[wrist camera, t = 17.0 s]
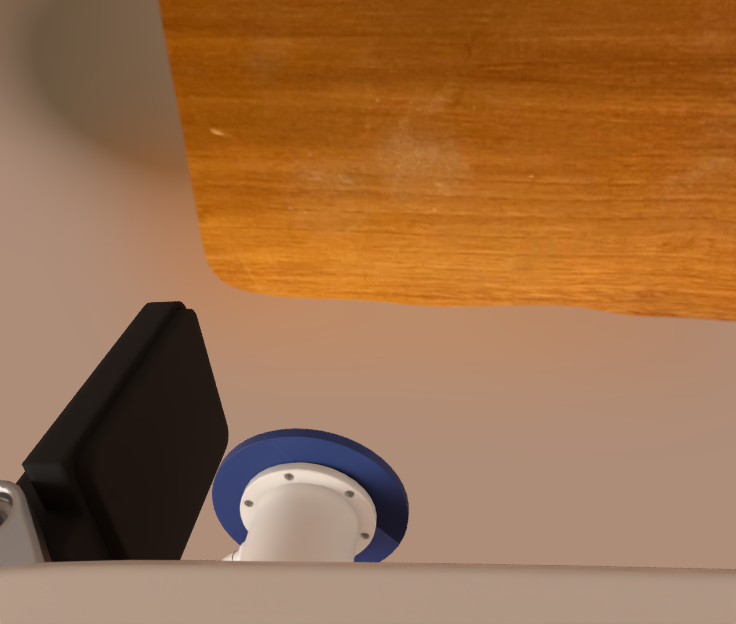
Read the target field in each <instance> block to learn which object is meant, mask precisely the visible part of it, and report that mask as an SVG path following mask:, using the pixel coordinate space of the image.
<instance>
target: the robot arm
mask: <svg viewBox="0 0 736 624" xmlns="http://www.w3.org/2000/svg"><path fill="white" fill-rule="evenodd" d="M227 443H228V426H227V422H226V419H225V415H224V412H223V408H222V405H221V401H220V397H219V394H218V390H217V387H216V383H215V380H214V376H213V372H212V369H211V365H210V362H209V358H208V354H207V351H206V347H205V344H204V340H203V337H202V333H201V329H200V326H199V322H198V319H197V316H196V313H195V312H194V310H192V309H186V307H185V305H184V304H183V303H182V302H180V301H177V302H176V301H174V302H151V303H147V304H146V305H145V306H144V307H143V308H142V310H141V311H140V312H139V313H138V315H137V316H136V317H135V319H134V320H133V321H132V322H131V324H130V325H129V326H128V328H127V329H126V330H125V332H124V333H123V334H122V335H121V337H120V338H119V339H118V340H117V342H116V343H115V344H114V346H113V347H112V348H111V350H110V351H109V352H108V354H107V355H106V356H105V358H104V359H103V360H102V361H101V362H100V364H99V365H98V366H97V368H96V369H95V370H94V371H93V373H92V374H91V375H90V377H89V378H88V379H87V381H86V382H85V383H84V385H83V386H82V387H81V388H80V390H79V391H78V392H77V393H76V395H75V396H74V397H73V399H72V400H71V401H70V402H69V404H68V405H67V406H66V408H65V409H64V410H63V412H62V413H61V414H60V415H59V417H58V418H57V419H56V421H55V422H54V423H53V425H52V426H51V427H50V428H49V430H48V431H47V432H46V434H45V435H44V436H43V438H42V439H41V440H40V441H39V443H38V444H37V445H36V447H35V448H34V449H33V450H32V452H31V453H30V454H29V455H28V457H27V458H26V459H25V461H24V462H23V463H22V466H23V467H24V470H25V472H24V474H23V475H22V476H21V478H20V479H19V480H18V481H17V483H16V484H14V483H12V482H10V481H1V480H0V624H736V569H701V568H656V567H655V568H654V567H653V568H652V567H612V566H561V565H557V566H556V565H506V564H447V563H445V564H444V563H443V564H439V563H385V562H354V556H356V555H357V554H358V553H360V552H361V551H363V550H364V549H365V548H366V547H367V546H368V545H369V544H370V542H371V540H372V538H373V536H374V533H375V528H376V517H377V515H376V510H375V506H374V504H373V502H372V499H371V497H370V496H369V495H368V493H367V492H366V491H365V490H364V488H363V487H361V486H360V485H359V484H358V483H357V482H356V481H355V480H353V479H351V478H350V477H348V476H347V475H345V474H343V473H341V472H339V471H337V470H334V469H332V468H329V467H325V466H322V465H318V464H311V463H286V464H279V465H276V466H273V467H270V468H267V469H265V470H264V471H262V472H260V473H258V474H257V475H256V476H255V477H254V478H252V479H251V480H250V482H249V483H248V485H247V486H246V488H245V490H244V493H243V496H242V498H241V503H240V515H241V518H242V521H243V524H244V526H245V527H246V529H247V531H248V534H247V537H246V540H245V542H243V543H242V544H241V546H240V549H239V550H236V551H234V552H233V553H231V554H230V555H228V556H227V557H225V558H224V559H222V561H216V560H213V561H212V560H180V559H181V556H182V554H183V551H184V549H185V547H186V544H187V542H188V539H189V537H190V535H191V532H192V530H193V527H194V525H195V522H196V520H197V518H198V515H199V513H200V510H201V508H202V506H203V503H204V501H205V498H206V496H207V494H208V491H209V489H210V486H211V484H212V481H213V479H214V477H215V474H216V471H217V469H218V467H219V464H220V462H221V460H222V457H223V455H224V453H225V450H226V447H227Z"/></svg>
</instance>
